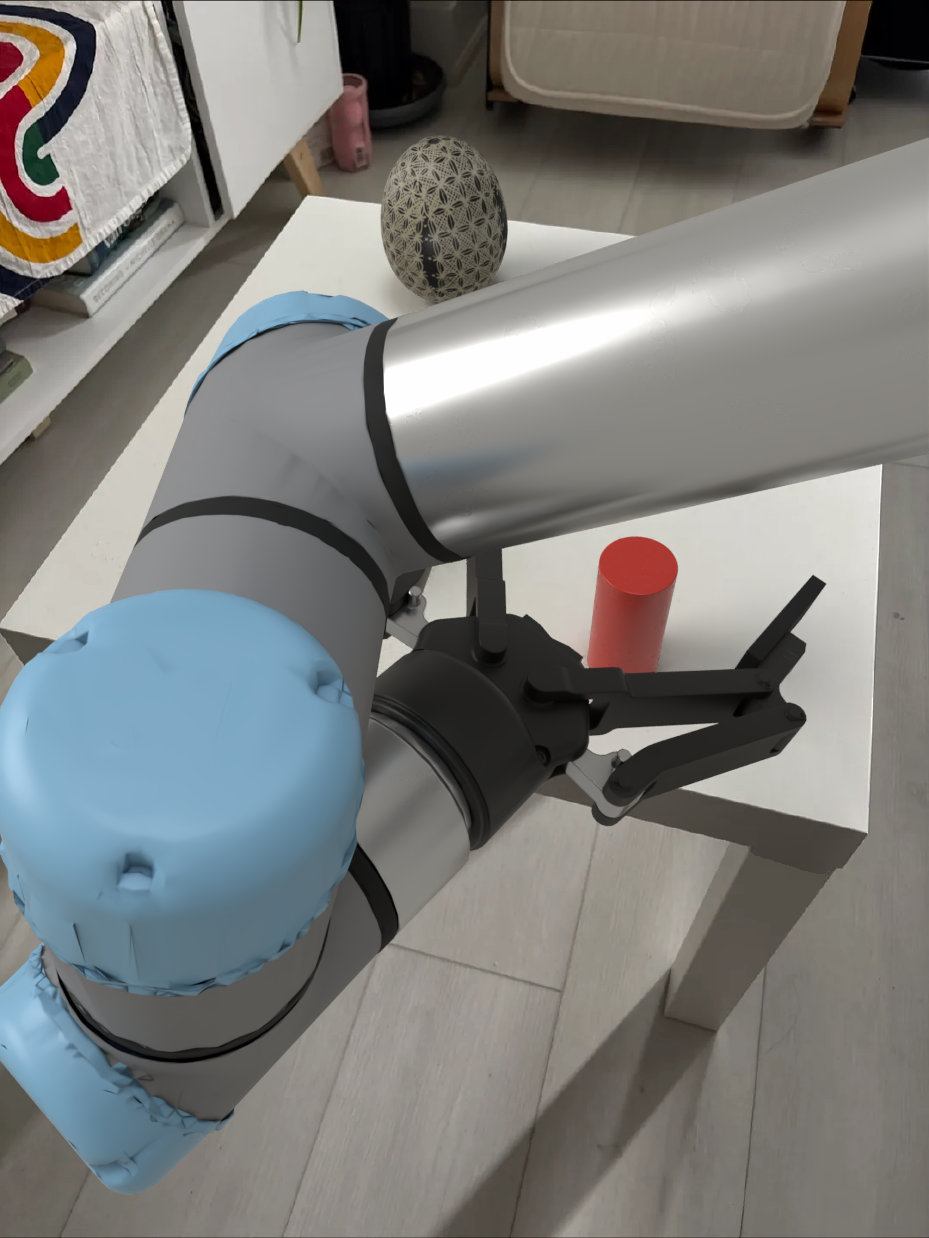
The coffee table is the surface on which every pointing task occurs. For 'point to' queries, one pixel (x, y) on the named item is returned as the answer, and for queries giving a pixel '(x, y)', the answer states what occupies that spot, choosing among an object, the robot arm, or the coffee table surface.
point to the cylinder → (631, 604)
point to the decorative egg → (443, 219)
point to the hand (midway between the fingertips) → (690, 517)
